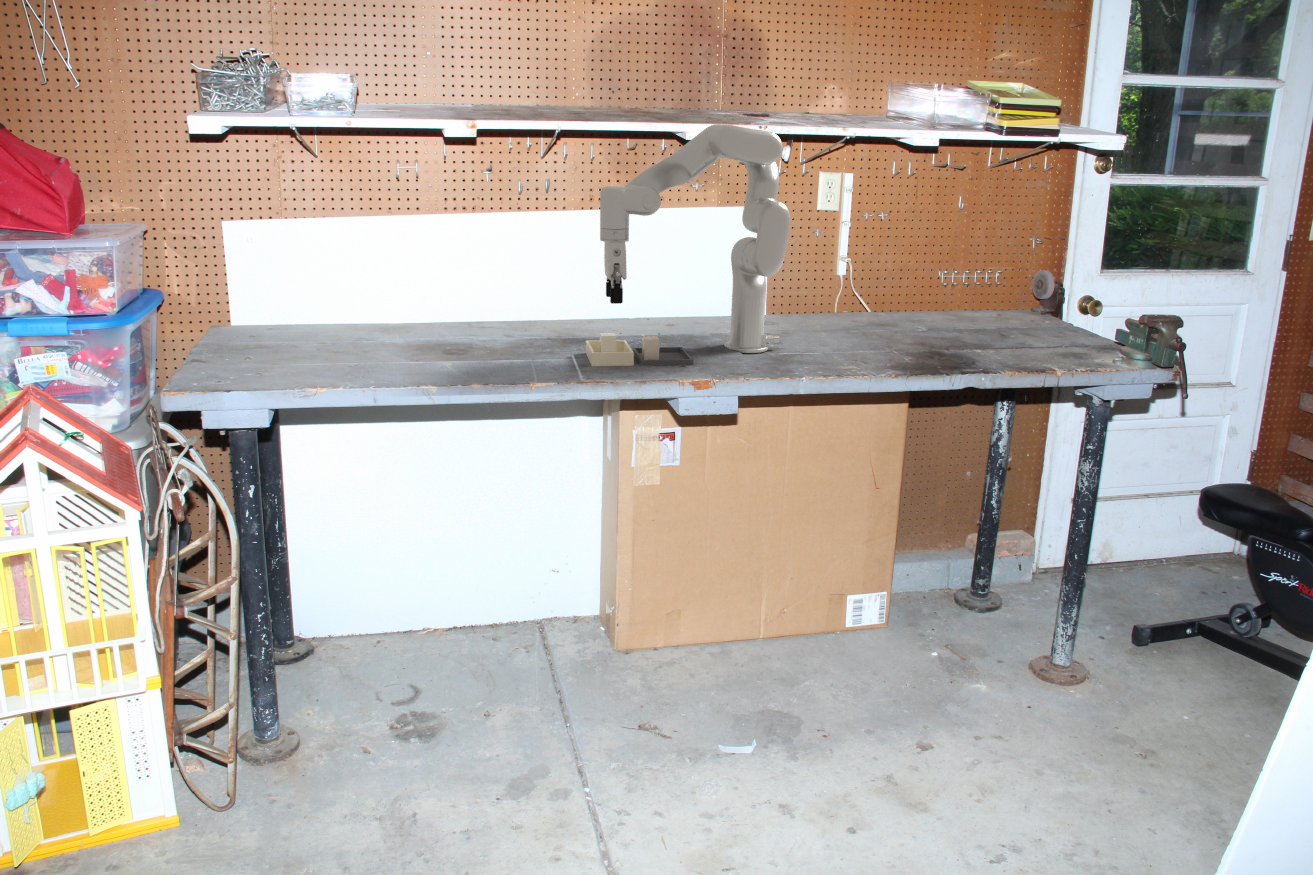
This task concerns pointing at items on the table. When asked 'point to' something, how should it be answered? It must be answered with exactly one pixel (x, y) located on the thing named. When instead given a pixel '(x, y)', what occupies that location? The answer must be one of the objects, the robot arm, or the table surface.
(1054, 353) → the table surface
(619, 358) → the tub
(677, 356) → the pan
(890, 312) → the table surface
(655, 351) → the stone
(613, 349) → the stone
